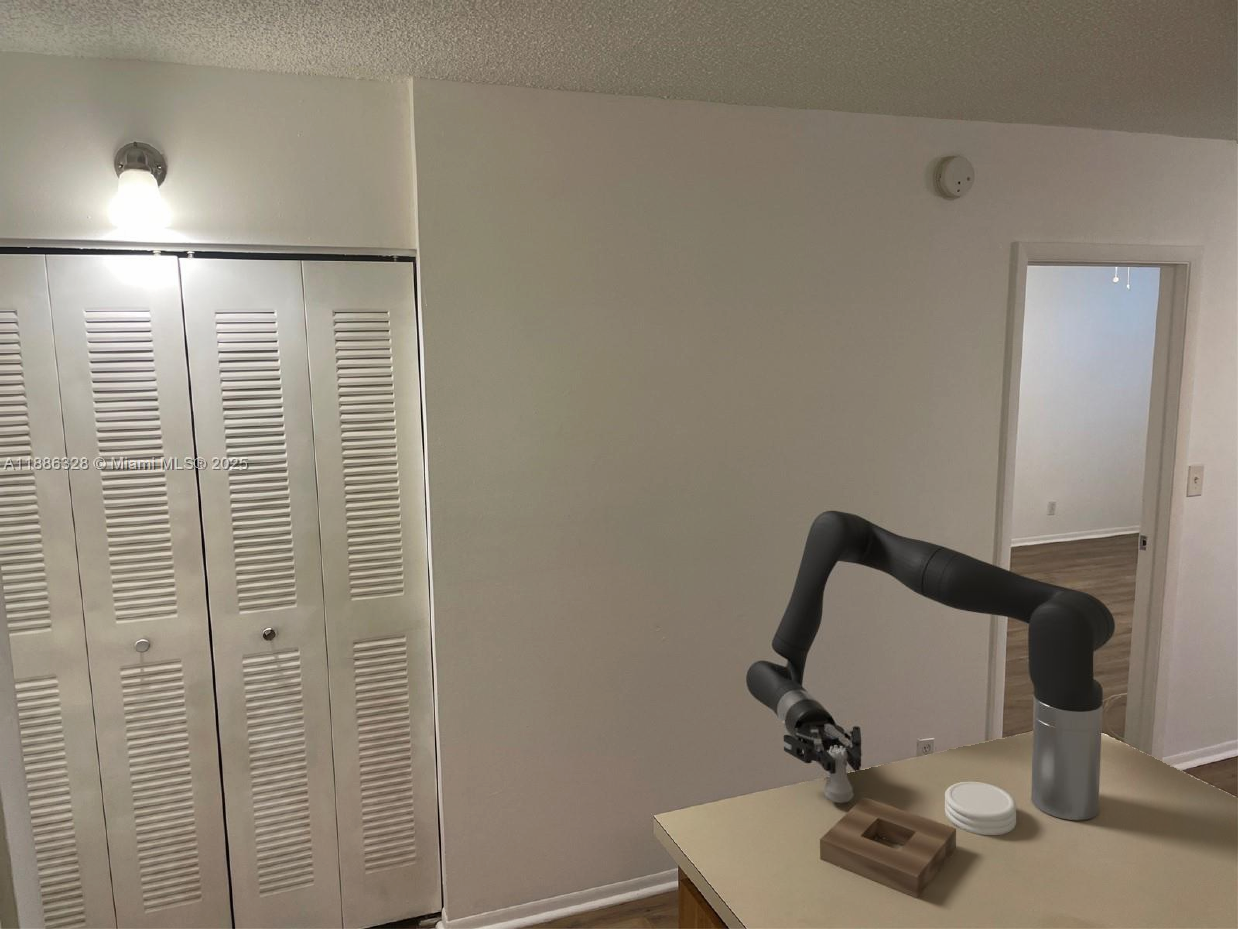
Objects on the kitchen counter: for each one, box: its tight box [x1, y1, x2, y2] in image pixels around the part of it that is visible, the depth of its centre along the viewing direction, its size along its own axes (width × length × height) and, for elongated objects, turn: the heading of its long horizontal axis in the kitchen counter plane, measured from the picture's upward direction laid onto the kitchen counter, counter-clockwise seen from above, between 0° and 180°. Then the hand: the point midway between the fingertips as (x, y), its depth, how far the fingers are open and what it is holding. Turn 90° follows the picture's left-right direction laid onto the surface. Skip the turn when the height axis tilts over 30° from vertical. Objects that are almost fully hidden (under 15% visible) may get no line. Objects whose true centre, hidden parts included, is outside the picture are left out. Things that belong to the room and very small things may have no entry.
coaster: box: [944, 781, 1017, 836], centre depth 127 cm, size 10×10×4 cm
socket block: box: [819, 796, 957, 899], centre depth 119 cm, size 14×14×3 cm
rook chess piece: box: [823, 745, 854, 804], centre depth 133 cm, size 4×4×8 cm
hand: (845, 766), depth 129 cm, fingers closed on rook chess piece, 3 cm apart
